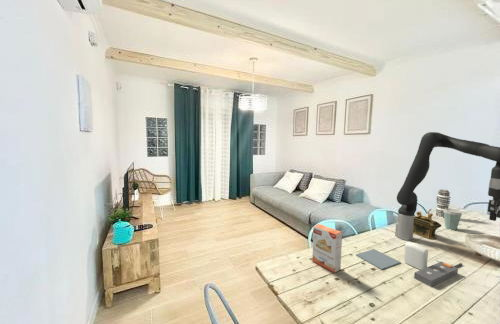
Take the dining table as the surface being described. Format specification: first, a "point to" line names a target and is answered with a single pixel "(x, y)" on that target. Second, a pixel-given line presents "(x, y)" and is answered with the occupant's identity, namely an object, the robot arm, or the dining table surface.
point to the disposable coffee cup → (451, 218)
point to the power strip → (436, 273)
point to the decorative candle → (442, 202)
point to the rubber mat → (378, 259)
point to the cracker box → (327, 247)
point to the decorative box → (425, 226)
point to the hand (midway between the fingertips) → (496, 219)
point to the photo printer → (416, 255)
